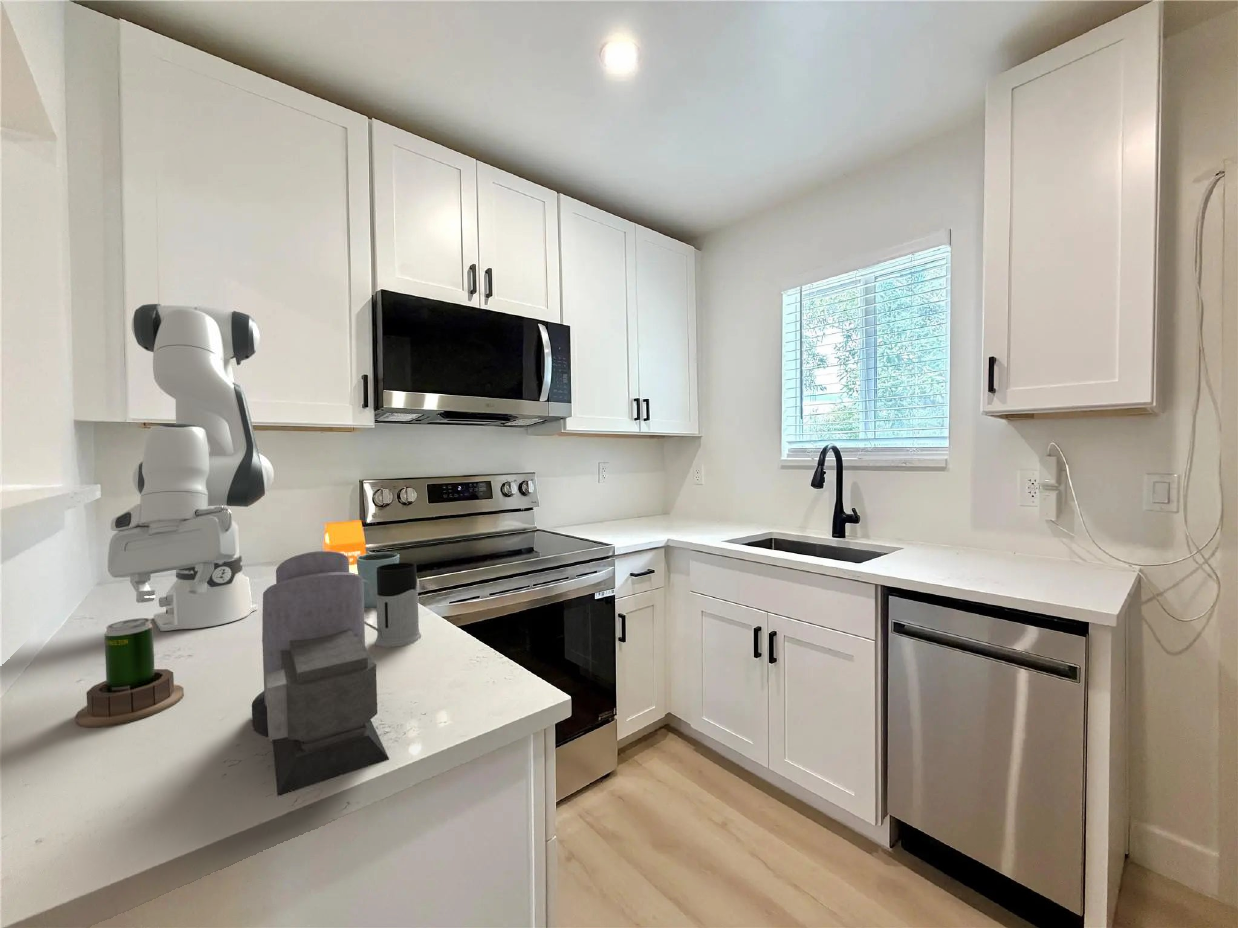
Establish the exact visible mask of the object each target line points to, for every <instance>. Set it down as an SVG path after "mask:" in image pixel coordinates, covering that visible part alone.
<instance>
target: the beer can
mask: <svg viewBox="0 0 1238 928" xmlns="http://www.w3.org/2000/svg"><path fill="white" fill-rule="evenodd" d="M105 628H106V631H105V633H104V634H103V635H104V653H105V656H104V657H105V658H104V659H105V660H104V661H105V677H106V679H105V681H106V684H107V693H116V692H122V691H128V690H133V689H136V688H139V687H143V686H146V685H149V684H151V683H153V682H155V669H156V668H155V649H154V646H155V645H154V626H153V624H152V620H151V619H150V618H149V617H147V618H145V617H141V618H131V619H126V620H121V621H117V622H114V623H111V624H109V625H107V626H106V627H105Z"/></svg>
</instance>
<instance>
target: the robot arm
mask: <svg viewBox="0 0 1238 928" xmlns="http://www.w3.org/2000/svg"><path fill="white" fill-rule="evenodd" d="M131 331H132V335H133V336H134V338H135V341H136V343H137V345H139V347H141V348H143V349H144V350H145V351H146V352H149V353H153V354H152V372H153V373H152V374H153V380H154V381H155V384H156V385H157V387H159V388H160V390H161V391H162V392H164V393H165V394H166V395H168V396H169V397H170V398H173V399H174V400H175V423H167V422H166V423H160V424H156V425H152V426H151V427H150V428H149V429H148V433H147V436H146V441H145V444H144V451H143V456H142V459H141V461H139V462H138V463H137V465H136V467H135V468H134V469H133V470H134V471H133V474H132V484H133V486H134V488H135V490H136V492H137V493H138V494H139V495H140V499H139V500H140V501H139V503H137V504H135V505H134V506H133V507H131V508H130V509H128V510H126V511H125V512H122V513H120V514H119V515H117V516H116V517H113V518H112V519H111V521H110V530H111V531H113V532H116V533H114V534H113V535H112V537H111V539H110V541H109V543H108V544H109V545H108V553H107V555H108V556H107V571H108V573H109V574H110V576H111V577H112V578H116V579H117V578H124V579H125V578H127V579H129V578H130V579H129V583H130V585H131V586H132V588H133V589H134V592H135V593H136V594H135V595H136V596H135V597H136V598H135V601H136V603H138V604H139V603H140V604H141V603H143V604H144V603H151V602H154V601H155V599H156V598H155V597H156V596H155V595H156V590H155V589H153V590H152V589H151V588H150V585H149V583H148V582H150V581H151V575H155V574H159V573H165V572H172V571H175V578H176V579H175V582H173V584H172V585H171V586H170V588H169V589H168V590H167V591H166V593H165V596H161V597H159V598H158V606H159V608H165V610H161V611H159V612H156V613H154V614H153V620H154V622H155V624H156V626H157V627H158V629H159V630H160V632H168V631H175V630H188V629H189V630H192V629H202V628H207V627H215V626H219V625H220V626H221V625H223V624H227V623H231V622H235V621H238V620H241V619H243V618H246V617H248V616H249V615H250V614H251V613H252V612H254V611H256V610H258V609H259V605H258V604H255V603H252V596H251V595H252V594H251V586H250V580H249V577H248V576H246V574H243V572H242V571H243V563H244V562H243V559H242V556H241V555H240V536H239V535H240V533H239V531H240V530H239V526H238V524H237V523H236V521H234V519H233V513H232V511H231V510H230V509H228V508H226V507H245V508H248V507H250V506H252V505H253V504H255V503H256V502H258V501H259V500H261V499H262V498H263V497H264V496H265V495H266V492H267V491H268V490H269V489H270V488H271V486H272V485H273V482H274V478H275V470H274V467H273V465H272V463H271V462H270V460H269V459H268V458H267V457H265V456H264V455H263V454H261V453H259V449H258V445H257V440H256V437H255V432H254V427H253V423H252V417H251V414H250V410H249V406H248V401H247V399H246V396H245V392H244V391H243V388H242V387H241V386H240V385H239V384H237V383H236V382H235V378H234V373H233V368H232V367H233V366H232V363H231V360H233V359H235V362H236V366H240V365H242V364H241V363H242V362H243V361H246V360H248V359H250V358H252V357H253V355H255V354H256V351H257V349H258V347H259V345H260V339H261V336H260V335H261V334H260V331H259V327H258V326H257V323H256V322H255V319H254V318H253V317H252V316H251V315H249V314H246V313H245V312H242V311H241V312H240V311H235V310H233V311H230V310H224V309H220V308H219V309H218V308H215V307H214V308H213V307H207V306H198V305H197V306H189V305H171V304H170V305H161V304H160V303H150V304H148V303H147V304H142V305H140V306H139V307H138V308H136V309H135V311H134V314H133V317H132V319H131ZM209 450H210V451H209ZM225 506H226V507H225Z"/></svg>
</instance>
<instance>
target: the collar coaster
mask: <svg viewBox="0 0 1238 928" xmlns="http://www.w3.org/2000/svg"><path fill="white" fill-rule="evenodd" d="M154 669H155V682H153V683H151V684H149V685H146V686H143V687H139V688H136V689H133V690H128V691H122V692H116V693H107V684H106V680H104V681H102V682H99V683H97V684H95V685H92V687H90V688H89V689H88V690H87V691H86V706H83V707H82V708H81V709H80V710H79V711H77V712H76V714H75V721H76V725H77V726H79V727H83V728H104V727H103V726H106V727H112V726H117V725H123V724H127V723H131V722H135V721H138V720H141V719H145V718H147V717H151V716H153V715H156V714H158V713H161V712H163V711H165V710H167V709H169V708H171V707H173V706H175V705H176V704H177V703H179V702H180V701H181V700H183V698H184V695H185V694H184V687H183V686H182V685H179V684H175V682H174V681H175V680H174V679H175V678H174V672H173V671H171V670H170V669H168V668H167V669H166V668H165V669H163V668H159V669H157V668H154Z"/></svg>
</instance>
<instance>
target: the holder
mask: <svg viewBox="0 0 1238 928" xmlns="http://www.w3.org/2000/svg"><path fill="white" fill-rule="evenodd" d="M363 582H365V583H367V584H368V586H369V589H370V596H371V598H373V599H376V602H377V607H376V626H377V627H376V626H374V625H372V624H370V623H368V622H367V621H365V620H364V622H365V626H368V627H370V628H371V629H373V630H375V631H377V633H376V634H377V635H376V638H375V641H374V644H375V645H376V644H377V645H376V646H378V645H379V646H378V647H382V648H383V647H384V648H393V647H394V648H395V647H401V646H400V645H402V646H406V644H407V645H410V644H413V643H415V642H417V641H419V640H420V639H421V638H422V634H421V632H420V627H419V623H420V622H419V592H418V591H419V590H418V589H419V588H418V587H419V586H418V576H417V564H416V563H414V562H399V563H392V564H386V565H382V566H379V567H377V593H376V597H374V596H373V588H372V585H371V584H370V583H369V582H368V581H366V580H363ZM418 639H419V640H418ZM412 642H413V643H412Z"/></svg>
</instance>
